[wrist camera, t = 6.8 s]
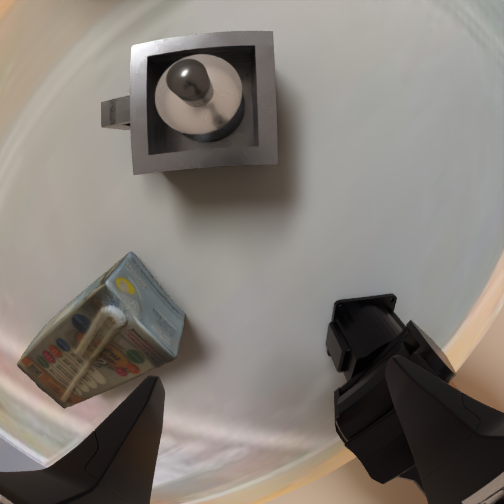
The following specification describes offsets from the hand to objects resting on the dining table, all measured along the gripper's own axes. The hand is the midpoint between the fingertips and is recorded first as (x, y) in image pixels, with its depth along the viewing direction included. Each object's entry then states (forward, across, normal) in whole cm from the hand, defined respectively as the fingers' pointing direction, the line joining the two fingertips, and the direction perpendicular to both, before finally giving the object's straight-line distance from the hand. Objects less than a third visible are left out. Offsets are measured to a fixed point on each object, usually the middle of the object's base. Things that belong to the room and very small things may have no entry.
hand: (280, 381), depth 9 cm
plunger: (+12, +3, -11) cm, 17 cm away
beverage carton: (+14, +16, +7) cm, 22 cm away
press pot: (+13, +4, -11) cm, 17 cm away
